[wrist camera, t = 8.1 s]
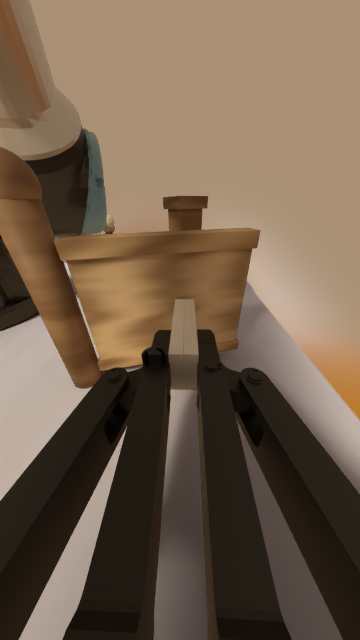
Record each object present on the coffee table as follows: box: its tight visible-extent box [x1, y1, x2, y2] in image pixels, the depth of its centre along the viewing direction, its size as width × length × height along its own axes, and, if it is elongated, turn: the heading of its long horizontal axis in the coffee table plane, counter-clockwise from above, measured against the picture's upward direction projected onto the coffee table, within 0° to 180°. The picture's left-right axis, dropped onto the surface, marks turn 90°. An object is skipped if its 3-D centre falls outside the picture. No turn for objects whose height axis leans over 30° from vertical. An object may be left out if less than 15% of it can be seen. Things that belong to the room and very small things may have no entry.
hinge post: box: [0, 147, 103, 388], centre depth 14 cm, size 3×3×17 cm
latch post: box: [163, 196, 208, 231], centre depth 22 cm, size 3×3×15 cm
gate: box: [54, 228, 260, 371], centre depth 16 cm, size 14×2×11 cm, turn 102°
